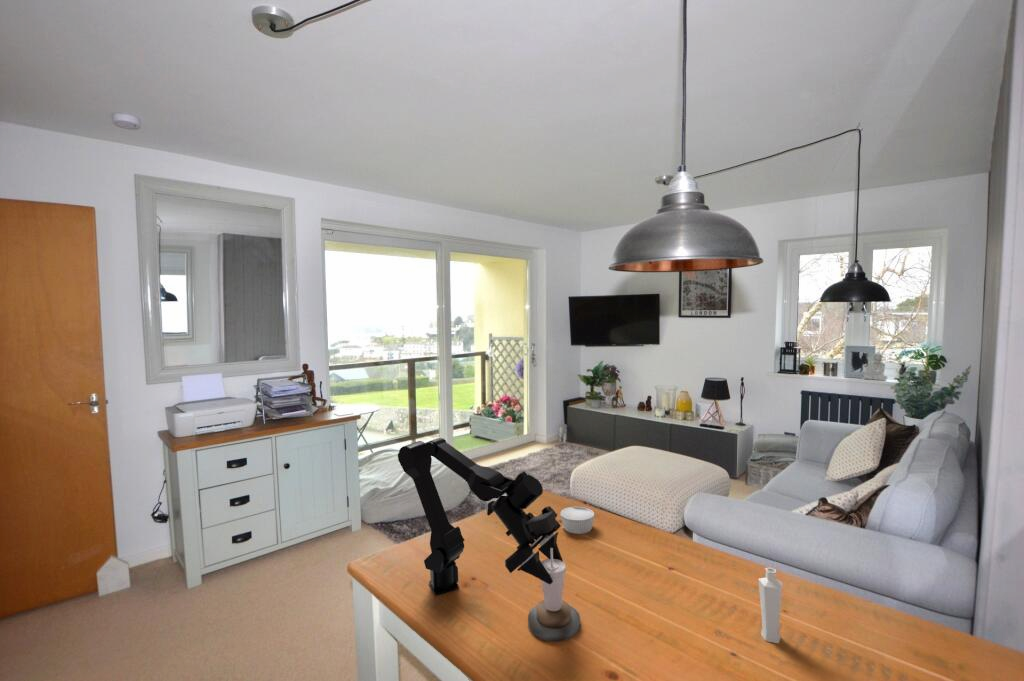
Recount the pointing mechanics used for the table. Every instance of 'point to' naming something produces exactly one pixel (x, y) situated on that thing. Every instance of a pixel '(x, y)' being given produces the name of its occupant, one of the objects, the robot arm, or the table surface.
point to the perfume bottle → (770, 605)
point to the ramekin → (577, 519)
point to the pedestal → (554, 622)
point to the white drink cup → (553, 583)
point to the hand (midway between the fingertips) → (557, 575)
